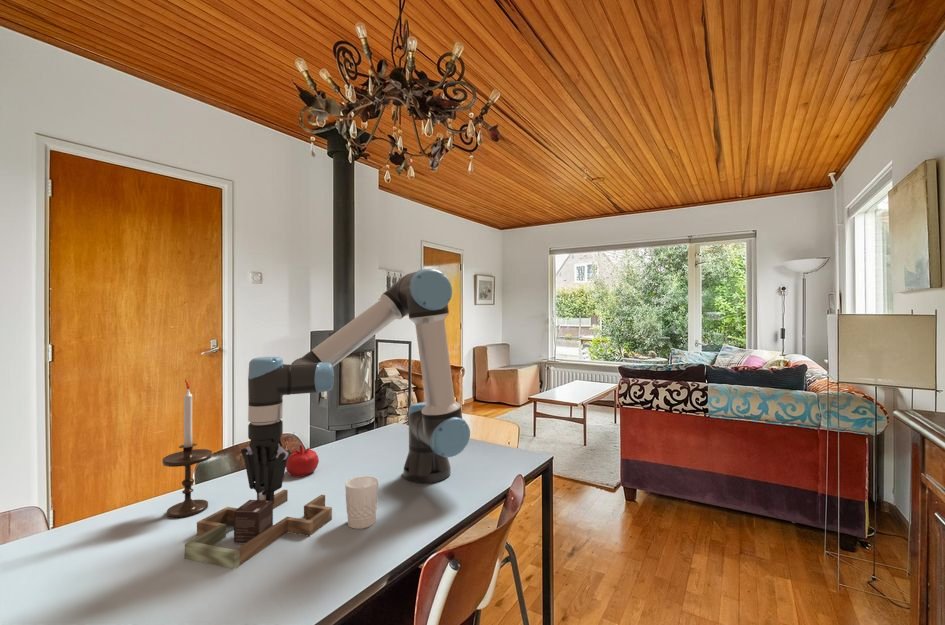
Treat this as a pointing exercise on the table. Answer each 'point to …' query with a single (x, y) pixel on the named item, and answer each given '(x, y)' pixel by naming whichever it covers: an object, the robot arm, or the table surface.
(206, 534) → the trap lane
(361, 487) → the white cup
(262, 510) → the box
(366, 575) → the table surface
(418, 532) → the table surface
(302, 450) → the pomegranate
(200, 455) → the candlestick
